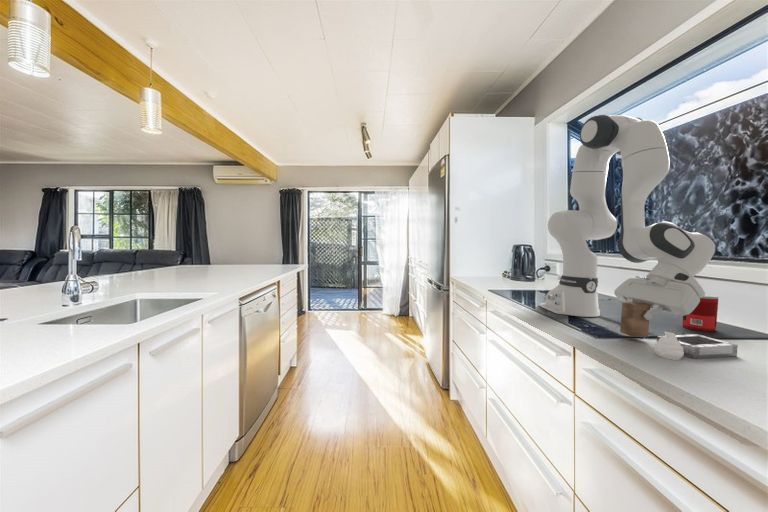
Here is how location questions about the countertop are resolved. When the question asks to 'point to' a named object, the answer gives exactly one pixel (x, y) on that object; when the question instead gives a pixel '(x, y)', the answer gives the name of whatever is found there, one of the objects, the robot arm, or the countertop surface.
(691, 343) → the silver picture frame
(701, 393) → the countertop surface
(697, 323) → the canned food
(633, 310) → the brown rectangular block
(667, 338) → the garlic bulb
